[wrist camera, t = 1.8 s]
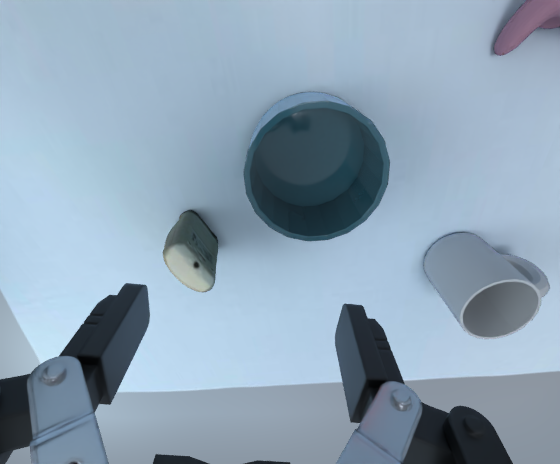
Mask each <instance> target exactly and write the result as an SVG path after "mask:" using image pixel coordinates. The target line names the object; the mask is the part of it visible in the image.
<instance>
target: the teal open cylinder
mask: <svg viewBox="0 0 560 464" xmlns="http://www.w3.org/2000/svg"><path fill="white" fill-rule="evenodd" d="M389 166H390V160H389V156H388V152H387V148H386V144H385V141H384V139H383V137H382V136H381V134H380V133H379V131H378V130H377V128H376V127H375V125H374V124H373V122H372V121H371V120H370V119H368V118H367V117H365V116H364V115H363V114H361V113H360V112H358V111H357V110H356V109H354V108H353V107H351V106H350V105H348V104H347V103H345V102H344V101H342V100H341V99H339V98H338V97H335V96H332V95H329V94H325V93H321V92H302V93H298V94H294V95H291V96H289V97H286V98H284V99H282V100H281V101H279V102H277V103H276V104H275V105H273V106H272V107H271V108H270V109H269V110H268V111H267V112H266V113H265V114H264V115H263V116H262V118H261V120H260V121H259V123H258V125H257V127H256V129H255V130H254V132H253V135H252V138H251V142H250V145H249V149H248V152H247V157H246V162H245V167H244V181H245V188H246V194H247V197H248V199H249V201H250V203H251V205H252V207H253V209H254V211H255V213H256V214H257V215H258V216H259V217H260V218H261V219H262V220H263V221H264V222H265V223H266V224H267V225H268V226H269V227H270V228H272V229H274V230H275V231H277V232H279V233H281V234H283V235H285V236H286V237H290V238H294V239H299V240H304V241H319V240H329V239H332V238H335V237H338V236H341V235H343V234H346V233H348V232H350V231H351V230H353V229H354V228H356V227H357V226H359V225H360V224H362V223H363V222H365V221H366V220H367V218H368V217H369V216H370V215H371V214H372V212H373V211H374V210H375V209H376V208H377V206H378V205H379V204H380V201H381V199H382V197H383V194H384V192H385V190H386V187H387V185H388V177H389Z"/></svg>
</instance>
